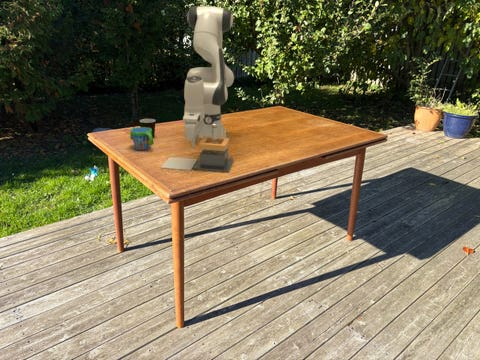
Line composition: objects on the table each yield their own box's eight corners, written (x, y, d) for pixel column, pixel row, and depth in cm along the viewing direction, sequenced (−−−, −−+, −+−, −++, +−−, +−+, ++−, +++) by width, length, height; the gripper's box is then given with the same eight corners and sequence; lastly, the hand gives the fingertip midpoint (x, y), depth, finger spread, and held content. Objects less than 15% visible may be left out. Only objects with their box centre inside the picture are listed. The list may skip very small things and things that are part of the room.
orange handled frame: (194, 140, 177) (193, 135, 176) (229, 142, 176) (229, 138, 175) (187, 148, 166) (187, 143, 165) (224, 151, 165) (225, 145, 164)
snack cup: (125, 147, 194) (123, 128, 190) (142, 143, 201) (141, 124, 197) (142, 154, 185) (140, 134, 181) (159, 150, 192) (158, 131, 188)
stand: (201, 158, 182) (201, 118, 175) (233, 160, 181) (234, 120, 173) (193, 170, 168) (192, 127, 160) (228, 172, 166) (229, 129, 158)
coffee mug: (158, 136, 214) (157, 119, 210) (153, 140, 207) (152, 123, 203) (138, 135, 215) (137, 118, 211) (133, 139, 207) (132, 121, 204)
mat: (169, 158, 181) (169, 157, 181) (197, 160, 180) (197, 159, 180) (160, 168, 168) (160, 167, 168) (190, 170, 167) (190, 169, 167)
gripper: (193, 108, 176) (193, 136, 181) (181, 119, 157) (182, 150, 163) (206, 109, 175) (206, 137, 181) (196, 120, 156) (196, 151, 162)
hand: (195, 143), depth 171 cm, fingers closed on orange handled frame, 3 cm apart
